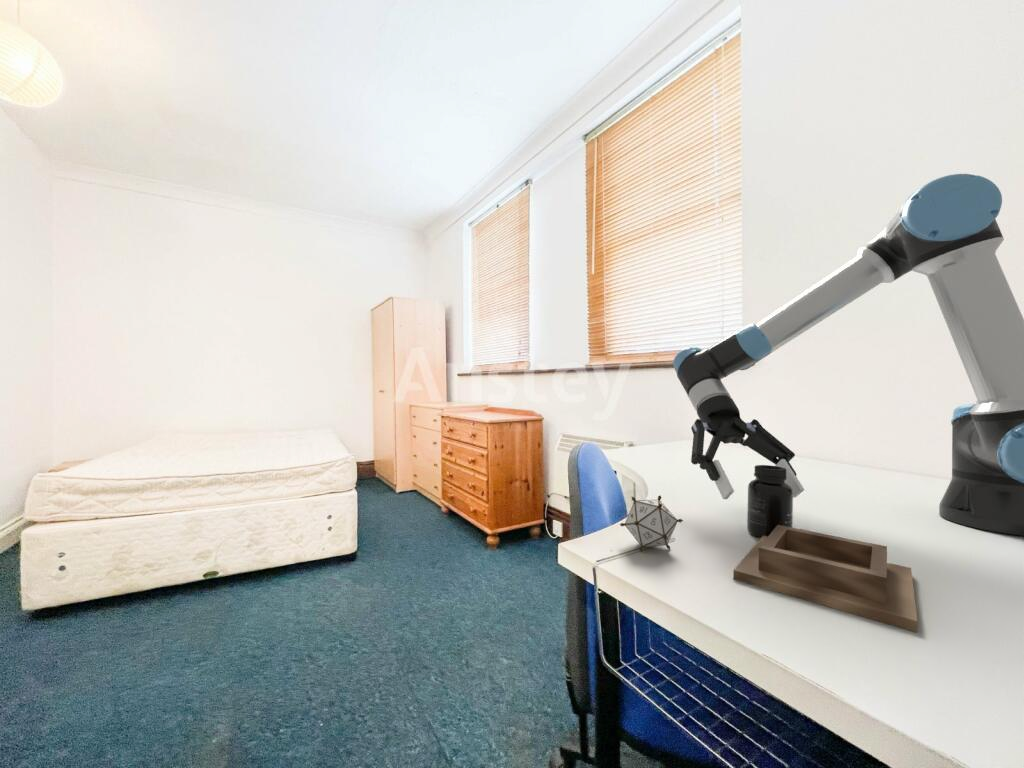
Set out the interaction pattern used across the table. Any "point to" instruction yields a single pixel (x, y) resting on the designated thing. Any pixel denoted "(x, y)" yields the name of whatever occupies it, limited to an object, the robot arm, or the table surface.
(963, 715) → the table surface
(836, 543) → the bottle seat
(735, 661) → the table surface
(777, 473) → the supplement bottle
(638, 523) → the game die
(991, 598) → the table surface
